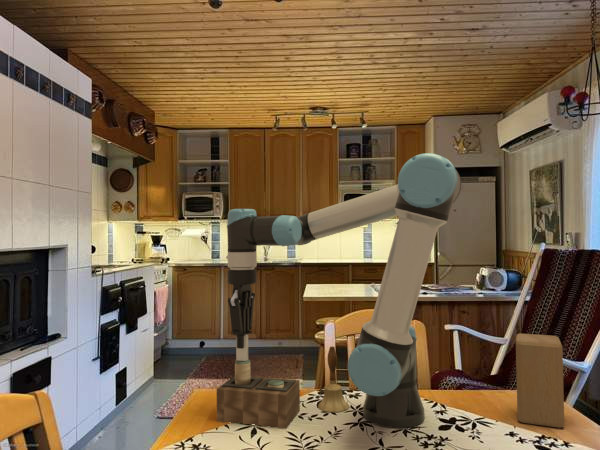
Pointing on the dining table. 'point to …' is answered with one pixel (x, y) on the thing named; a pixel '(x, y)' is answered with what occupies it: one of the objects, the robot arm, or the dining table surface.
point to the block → (539, 380)
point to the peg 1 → (242, 372)
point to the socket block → (259, 402)
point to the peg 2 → (276, 383)
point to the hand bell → (333, 389)
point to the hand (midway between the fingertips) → (242, 359)
